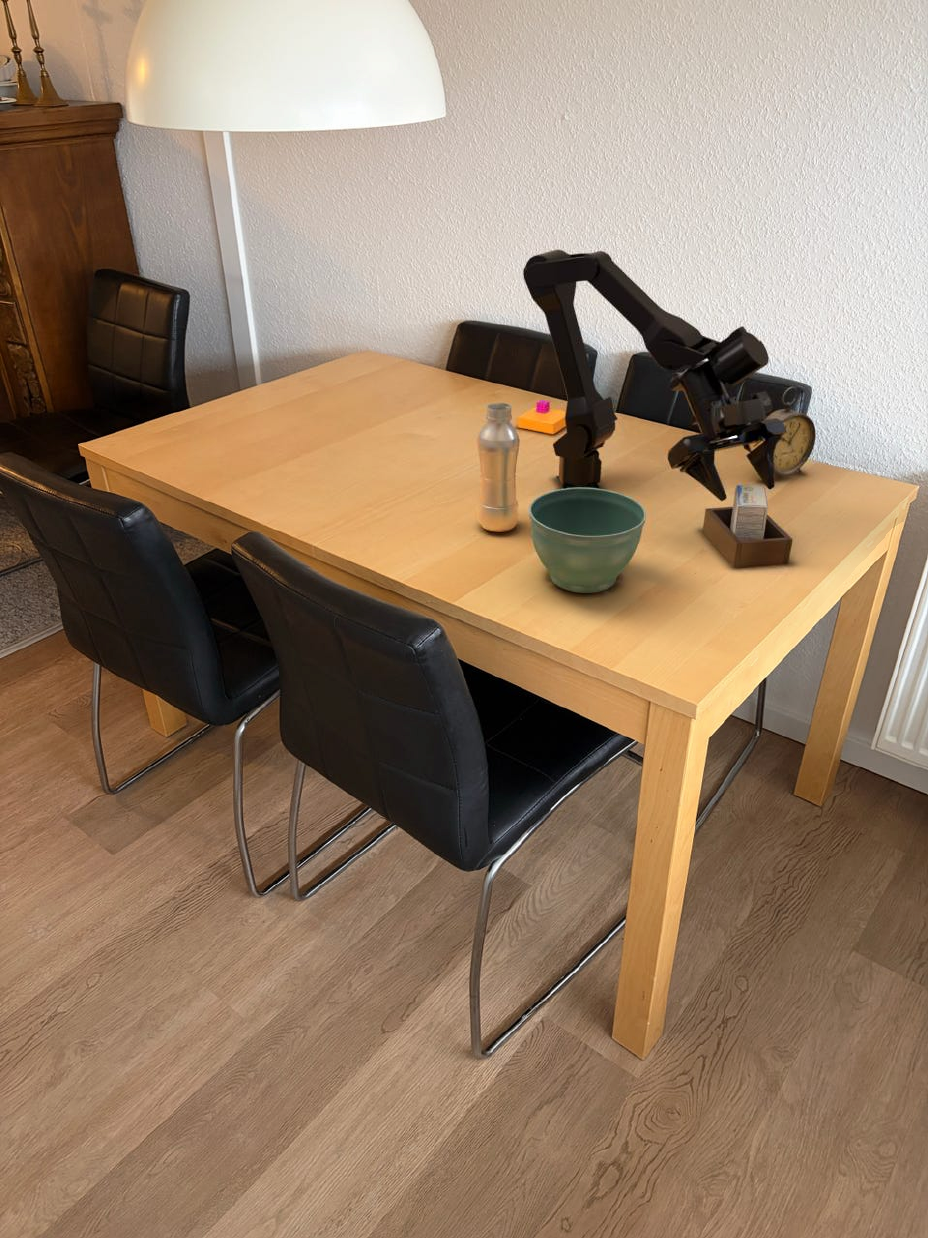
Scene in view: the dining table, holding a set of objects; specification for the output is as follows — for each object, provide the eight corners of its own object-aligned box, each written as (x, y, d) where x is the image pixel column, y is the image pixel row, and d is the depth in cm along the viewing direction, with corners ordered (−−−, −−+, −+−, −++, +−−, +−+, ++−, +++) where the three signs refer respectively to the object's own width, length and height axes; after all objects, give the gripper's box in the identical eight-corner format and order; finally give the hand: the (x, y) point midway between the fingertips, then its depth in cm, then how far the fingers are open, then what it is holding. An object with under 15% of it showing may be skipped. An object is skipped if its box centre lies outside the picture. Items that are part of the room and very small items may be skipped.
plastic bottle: (506, 540, 152) (508, 416, 142) (469, 530, 155) (468, 408, 145) (526, 525, 157) (529, 404, 147) (489, 516, 160) (490, 396, 150)
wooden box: (733, 567, 144) (736, 543, 142) (702, 531, 155) (705, 508, 153) (788, 563, 145) (792, 539, 143) (753, 527, 156) (757, 504, 154)
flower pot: (663, 586, 139) (670, 516, 134) (573, 618, 132) (577, 545, 126) (590, 544, 151) (595, 479, 145) (505, 571, 143) (506, 503, 138)
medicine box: (760, 559, 146) (769, 506, 142) (729, 557, 147) (737, 504, 142) (757, 537, 153) (765, 485, 148) (728, 534, 153) (735, 483, 149)
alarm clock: (763, 486, 170) (778, 395, 162) (742, 476, 174) (755, 387, 166) (810, 475, 174) (827, 386, 166) (789, 465, 178) (804, 377, 170)
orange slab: (571, 422, 198) (572, 402, 196) (552, 434, 193) (553, 413, 190) (536, 416, 202) (537, 396, 200) (517, 427, 196) (518, 406, 194)
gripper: (687, 383, 138) (729, 482, 135) (788, 365, 145) (829, 459, 142) (649, 421, 148) (687, 514, 145) (745, 402, 155) (783, 490, 153)
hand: (748, 493), depth 146 cm, fingers open, 9 cm apart
